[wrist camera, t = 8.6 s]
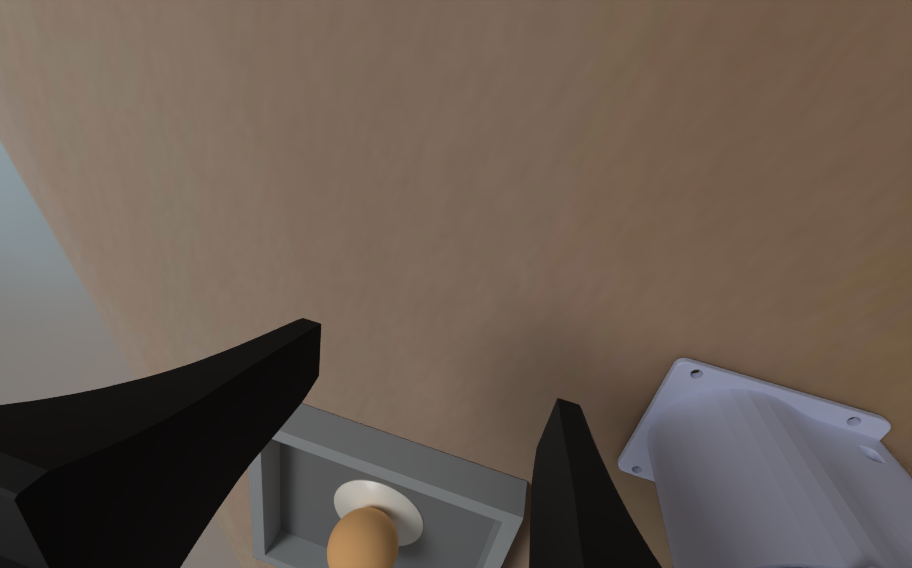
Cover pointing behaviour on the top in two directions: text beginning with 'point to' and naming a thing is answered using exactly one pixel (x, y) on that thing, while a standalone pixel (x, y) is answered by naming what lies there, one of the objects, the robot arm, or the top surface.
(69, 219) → the top surface
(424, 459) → the grey serving tray
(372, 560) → the ball
